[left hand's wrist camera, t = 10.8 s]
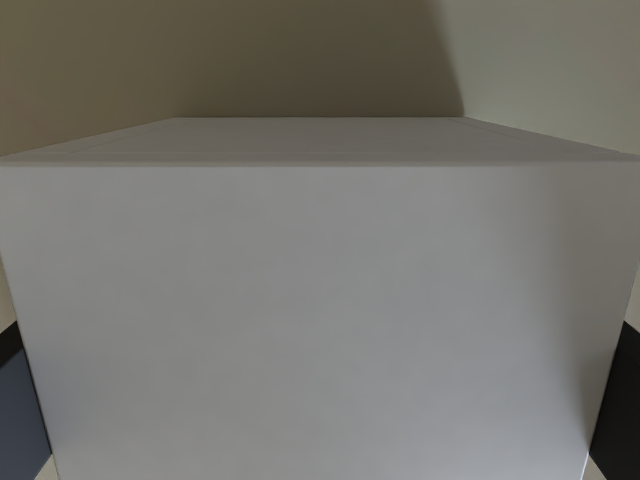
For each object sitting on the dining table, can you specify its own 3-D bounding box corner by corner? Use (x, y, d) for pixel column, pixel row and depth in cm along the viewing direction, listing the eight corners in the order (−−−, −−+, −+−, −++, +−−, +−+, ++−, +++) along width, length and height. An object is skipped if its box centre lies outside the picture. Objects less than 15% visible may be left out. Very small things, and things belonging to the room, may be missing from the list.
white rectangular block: (425, 504, 24) (499, 797, 14) (215, 504, 24) (141, 797, 14) (467, 117, 17) (668, 161, 7) (172, 117, 17) (-28, 161, 7)
